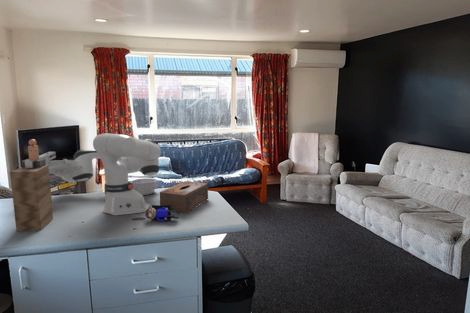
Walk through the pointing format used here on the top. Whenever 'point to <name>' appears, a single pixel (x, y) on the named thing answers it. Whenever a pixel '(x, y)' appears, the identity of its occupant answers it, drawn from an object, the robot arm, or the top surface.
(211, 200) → the top surface
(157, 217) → the character figurine
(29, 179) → the stand
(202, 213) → the top surface
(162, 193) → the tissue box cover
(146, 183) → the paper bowls
